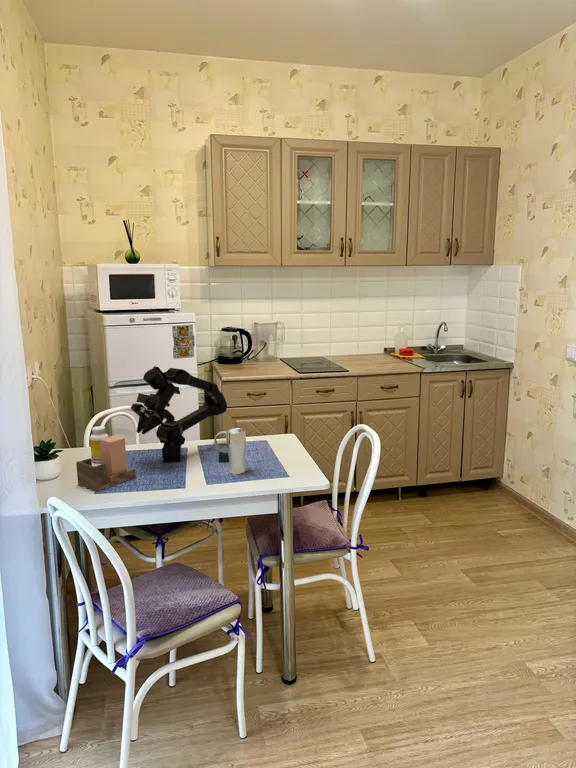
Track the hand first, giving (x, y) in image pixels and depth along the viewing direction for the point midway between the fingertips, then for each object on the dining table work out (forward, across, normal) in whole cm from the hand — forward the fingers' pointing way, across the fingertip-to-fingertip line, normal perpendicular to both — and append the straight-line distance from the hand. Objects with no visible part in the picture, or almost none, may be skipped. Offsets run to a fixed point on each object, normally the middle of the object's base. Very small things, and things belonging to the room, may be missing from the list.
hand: (139, 433), depth 208 cm
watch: (-8, +17, +28) cm, 34 cm away
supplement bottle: (+12, -21, +8) cm, 25 cm away
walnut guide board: (+20, 0, -1) cm, 20 cm away
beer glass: (-4, +29, +23) cm, 37 cm away
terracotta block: (+17, 0, +1) cm, 17 cm away
